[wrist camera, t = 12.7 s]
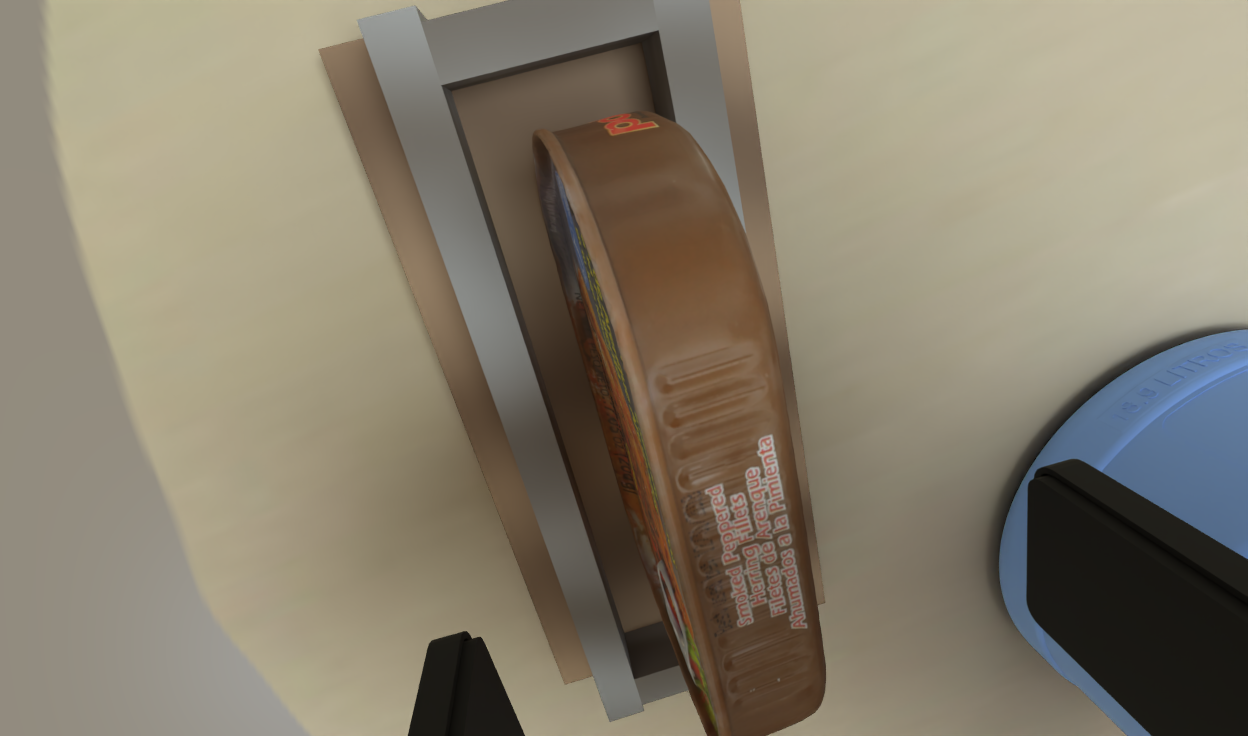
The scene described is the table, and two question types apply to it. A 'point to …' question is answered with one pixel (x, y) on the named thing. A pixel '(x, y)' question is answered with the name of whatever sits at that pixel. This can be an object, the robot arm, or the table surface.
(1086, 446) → the water jug
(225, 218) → the table surface
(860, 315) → the table surface
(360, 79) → the wooden tray
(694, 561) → the tin
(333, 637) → the table surface
